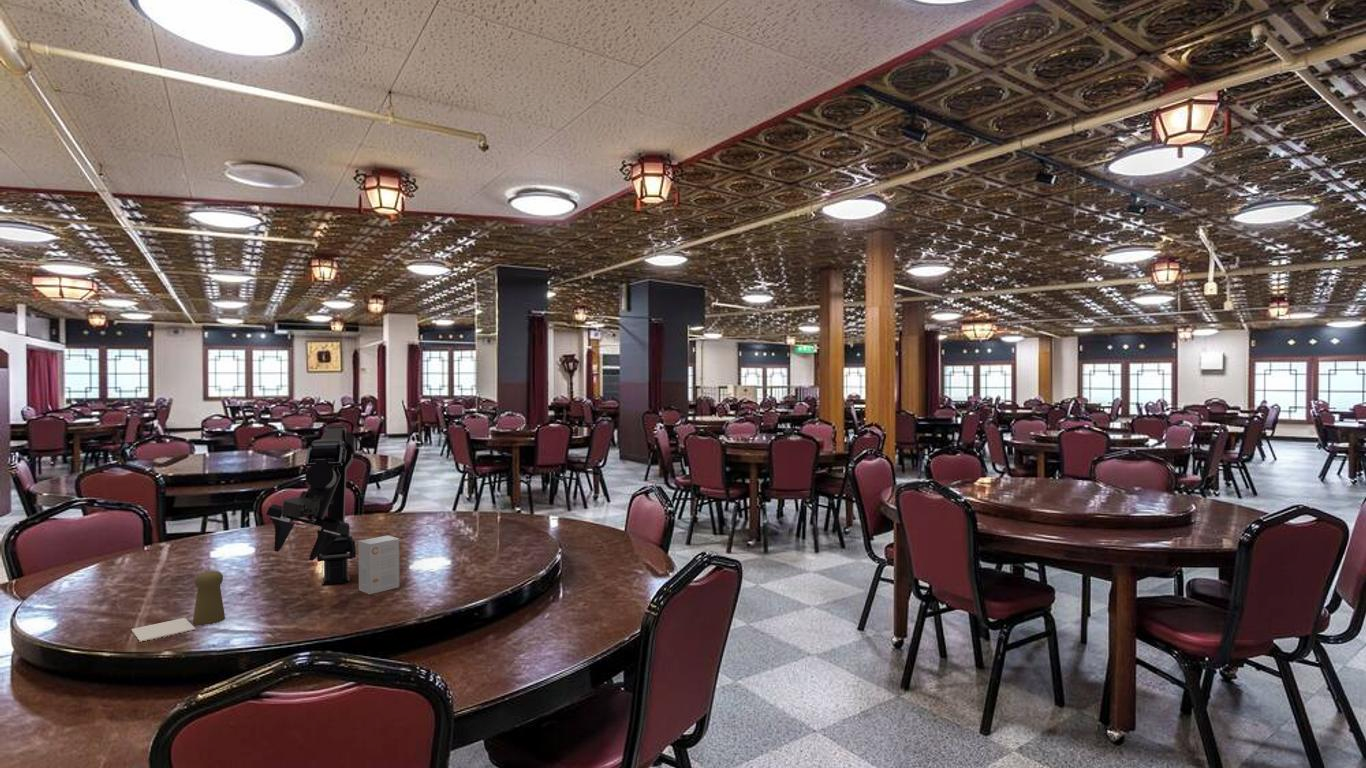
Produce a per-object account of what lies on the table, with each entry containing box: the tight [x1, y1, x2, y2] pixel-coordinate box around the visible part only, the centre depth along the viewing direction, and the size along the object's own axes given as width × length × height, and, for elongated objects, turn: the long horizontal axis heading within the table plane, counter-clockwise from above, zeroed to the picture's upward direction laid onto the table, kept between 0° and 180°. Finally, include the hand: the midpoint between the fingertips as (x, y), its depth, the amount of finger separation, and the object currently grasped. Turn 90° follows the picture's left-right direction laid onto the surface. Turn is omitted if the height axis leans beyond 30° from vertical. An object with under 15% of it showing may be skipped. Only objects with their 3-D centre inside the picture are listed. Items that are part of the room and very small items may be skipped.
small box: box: [357, 535, 400, 595], centre depth 174 cm, size 8×6×13 cm
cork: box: [192, 570, 226, 626], centre depth 151 cm, size 6×6×11 cm
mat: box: [130, 617, 197, 643], centre depth 145 cm, size 10×10×1 cm
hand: (293, 555), depth 157 cm, fingers open, 9 cm apart
